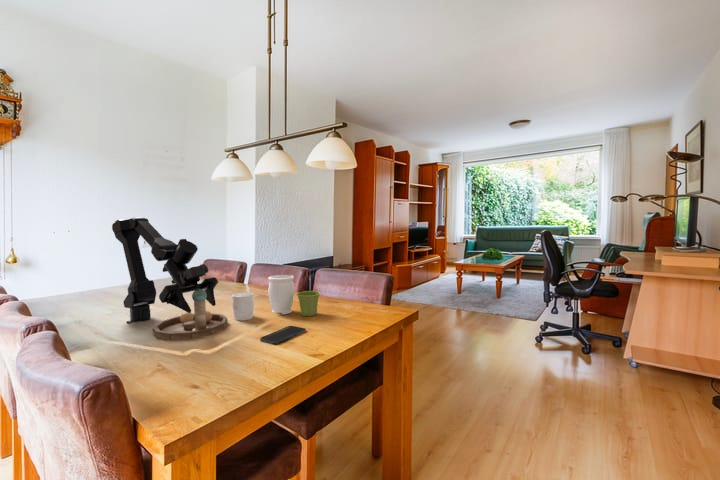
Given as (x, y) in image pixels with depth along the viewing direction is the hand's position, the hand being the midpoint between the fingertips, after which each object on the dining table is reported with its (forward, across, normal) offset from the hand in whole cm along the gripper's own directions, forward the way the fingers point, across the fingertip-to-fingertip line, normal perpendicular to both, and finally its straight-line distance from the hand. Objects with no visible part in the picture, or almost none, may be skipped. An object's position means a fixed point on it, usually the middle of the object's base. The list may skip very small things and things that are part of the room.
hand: (202, 308), depth 111 cm
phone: (+24, +12, -10) cm, 28 cm away
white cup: (+6, +19, +8) cm, 21 cm away
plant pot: (+18, +36, -5) cm, 41 cm away
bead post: (+5, 0, +7) cm, 8 cm away
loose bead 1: (-4, +4, +16) cm, 17 cm away
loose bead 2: (-1, +8, +12) cm, 15 cm away
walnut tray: (+1, +2, +12) cm, 13 cm away
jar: (+10, +34, +4) cm, 35 cm away
